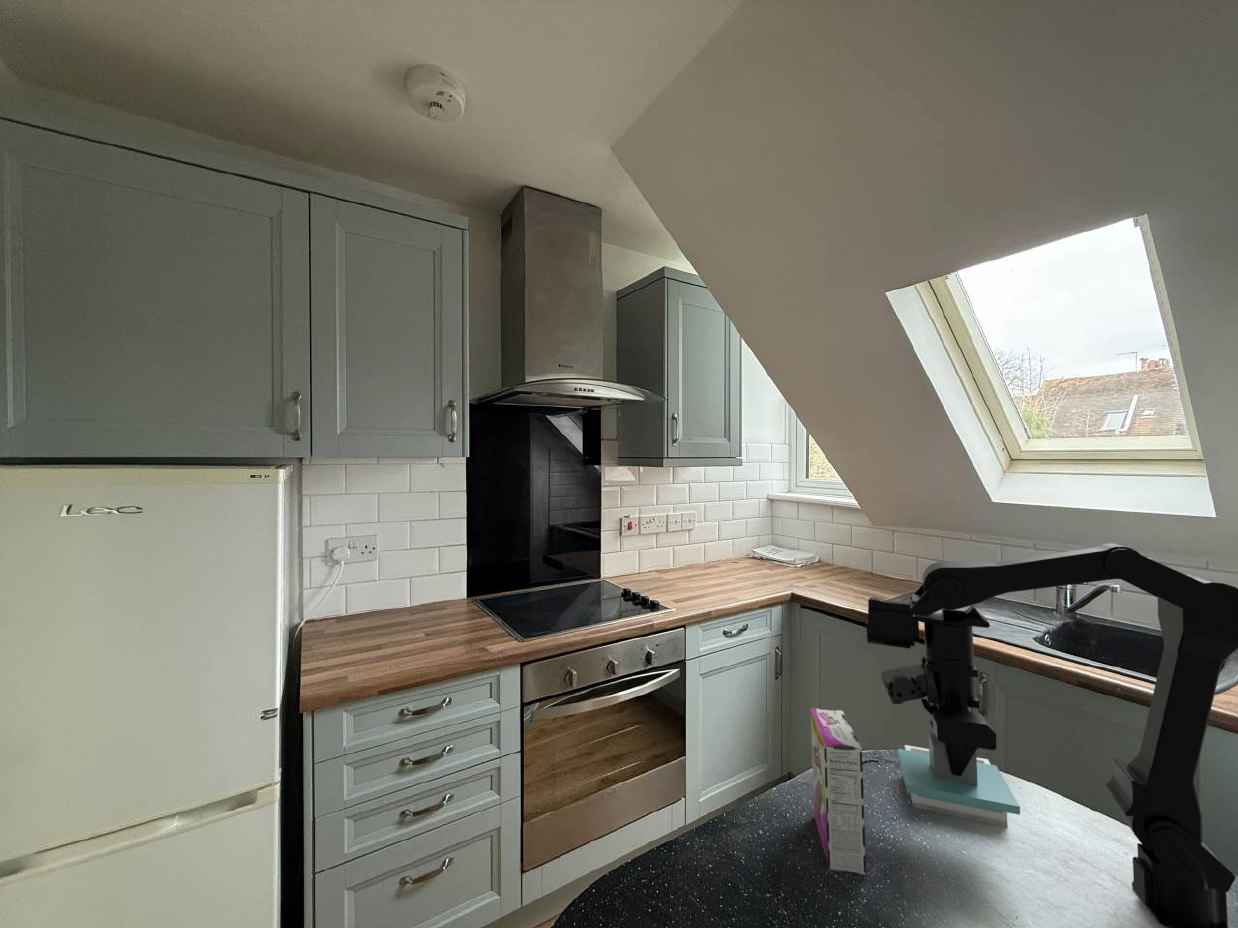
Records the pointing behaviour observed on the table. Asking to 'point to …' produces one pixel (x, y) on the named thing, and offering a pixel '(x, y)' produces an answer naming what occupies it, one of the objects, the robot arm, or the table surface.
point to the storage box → (956, 808)
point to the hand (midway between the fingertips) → (953, 767)
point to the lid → (955, 780)
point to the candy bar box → (838, 791)
